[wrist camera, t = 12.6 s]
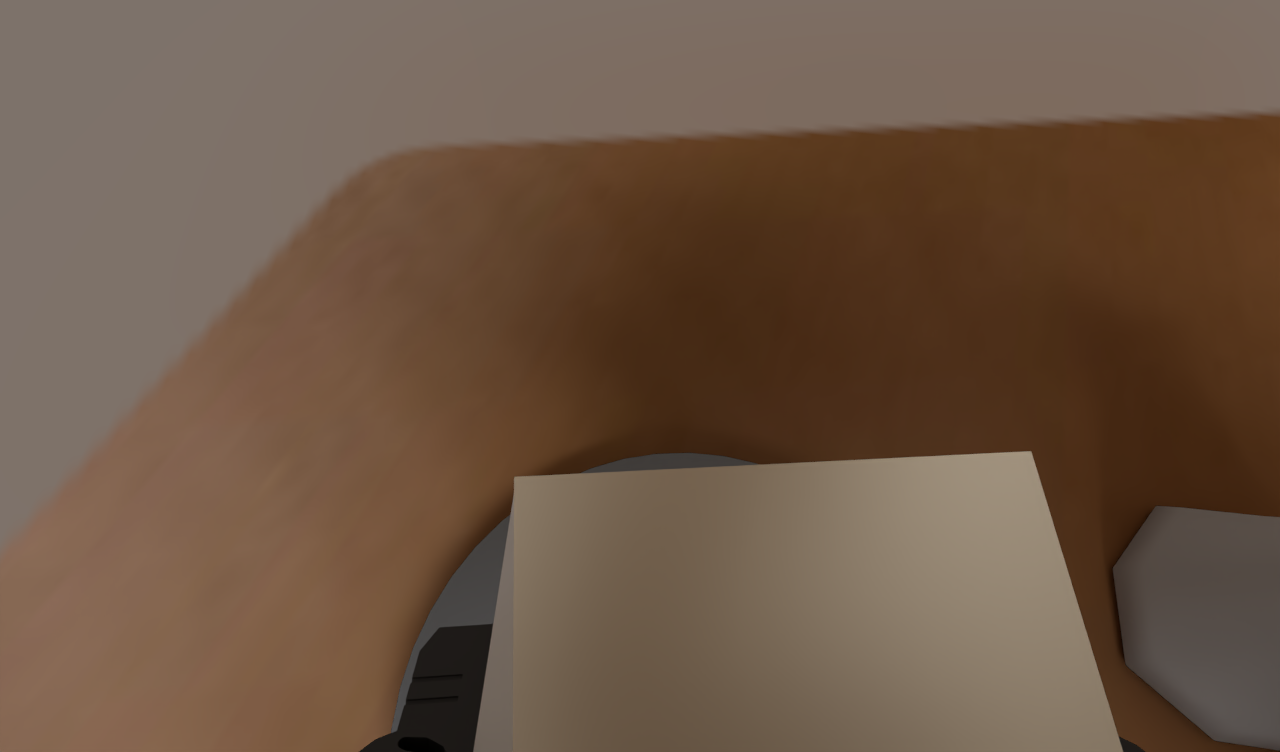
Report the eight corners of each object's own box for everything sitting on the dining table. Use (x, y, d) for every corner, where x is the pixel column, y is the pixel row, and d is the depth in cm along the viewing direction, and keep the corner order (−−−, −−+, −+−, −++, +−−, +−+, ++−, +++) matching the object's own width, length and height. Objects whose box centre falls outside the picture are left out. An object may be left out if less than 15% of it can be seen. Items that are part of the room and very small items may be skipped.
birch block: (770, 610, 18) (1031, 450, 7) (803, 850, 16) (1241, 1138, 5) (567, 624, 18) (513, 476, 7) (572, 870, 16) (510, 1229, 5)
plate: (850, 419, 25) (861, 406, 24) (1074, 991, 19) (1103, 1008, 18) (373, 526, 23) (361, 517, 22) (439, 1217, 16) (427, 1252, 15)
